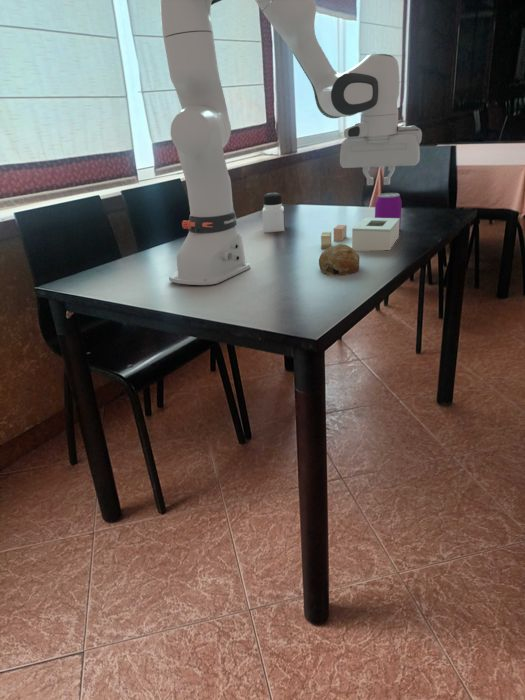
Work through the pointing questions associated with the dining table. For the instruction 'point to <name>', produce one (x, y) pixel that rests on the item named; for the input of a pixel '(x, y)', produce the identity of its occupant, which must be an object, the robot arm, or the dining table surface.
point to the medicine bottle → (273, 213)
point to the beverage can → (388, 206)
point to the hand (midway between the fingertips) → (378, 184)
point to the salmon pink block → (339, 232)
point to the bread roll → (339, 260)
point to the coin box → (375, 234)
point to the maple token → (326, 240)
